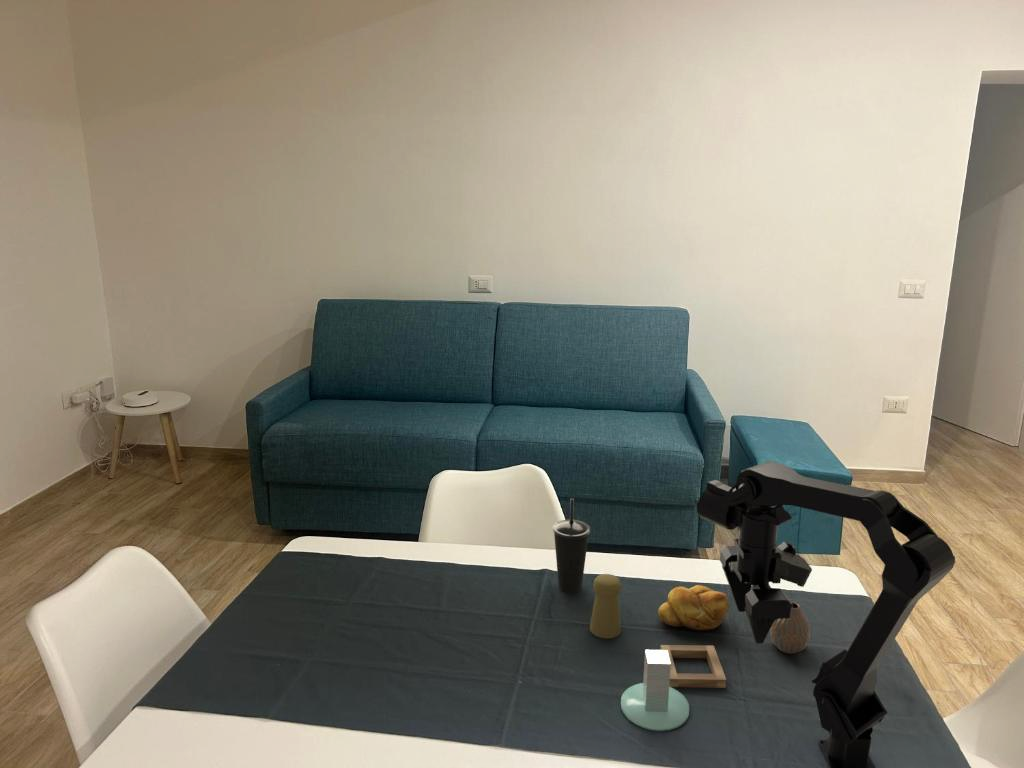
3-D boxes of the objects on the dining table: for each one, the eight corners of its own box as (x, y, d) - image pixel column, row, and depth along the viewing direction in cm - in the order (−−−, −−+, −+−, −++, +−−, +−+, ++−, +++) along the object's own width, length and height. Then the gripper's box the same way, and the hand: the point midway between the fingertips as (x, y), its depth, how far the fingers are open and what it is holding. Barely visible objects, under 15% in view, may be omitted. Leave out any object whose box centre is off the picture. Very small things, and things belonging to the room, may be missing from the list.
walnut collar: (725, 687, 135) (726, 679, 134) (668, 686, 135) (669, 678, 135) (713, 653, 144) (713, 645, 144) (659, 652, 144) (660, 645, 144)
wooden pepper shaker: (584, 633, 150) (586, 581, 147) (596, 617, 155) (598, 566, 152) (614, 641, 147) (617, 589, 144) (626, 625, 153) (628, 574, 150)
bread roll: (658, 633, 150) (661, 595, 148) (655, 605, 160) (657, 569, 157) (728, 637, 149) (731, 599, 147) (720, 609, 158) (724, 573, 156)
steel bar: (667, 711, 128) (670, 663, 126) (645, 711, 128) (647, 663, 126) (664, 697, 132) (667, 650, 129) (642, 696, 132) (645, 649, 129)
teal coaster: (695, 731, 125) (695, 728, 125) (624, 730, 125) (625, 727, 125) (682, 685, 135) (682, 682, 135) (617, 685, 136) (617, 682, 135)
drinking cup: (545, 582, 168) (546, 495, 162) (577, 574, 171) (579, 488, 165) (562, 600, 161) (564, 510, 155) (595, 592, 164) (598, 503, 158)
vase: (810, 660, 142) (816, 617, 140) (770, 656, 143) (775, 613, 141) (805, 638, 149) (810, 597, 146) (766, 634, 150) (770, 593, 147)
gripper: (832, 568, 117) (821, 660, 121) (787, 513, 135) (779, 595, 139) (756, 569, 117) (748, 661, 121) (721, 514, 135) (716, 596, 139)
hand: (750, 626), depth 130 cm, fingers open, 9 cm apart
